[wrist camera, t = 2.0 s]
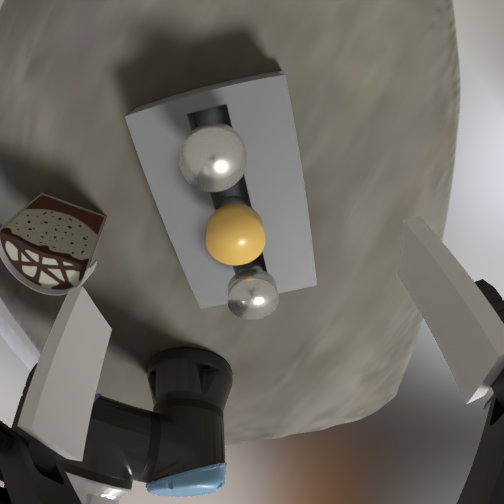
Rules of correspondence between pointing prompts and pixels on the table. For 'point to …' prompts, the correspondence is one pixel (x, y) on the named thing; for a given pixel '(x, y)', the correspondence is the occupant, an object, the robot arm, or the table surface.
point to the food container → (51, 244)
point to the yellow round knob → (235, 232)
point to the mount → (248, 187)
